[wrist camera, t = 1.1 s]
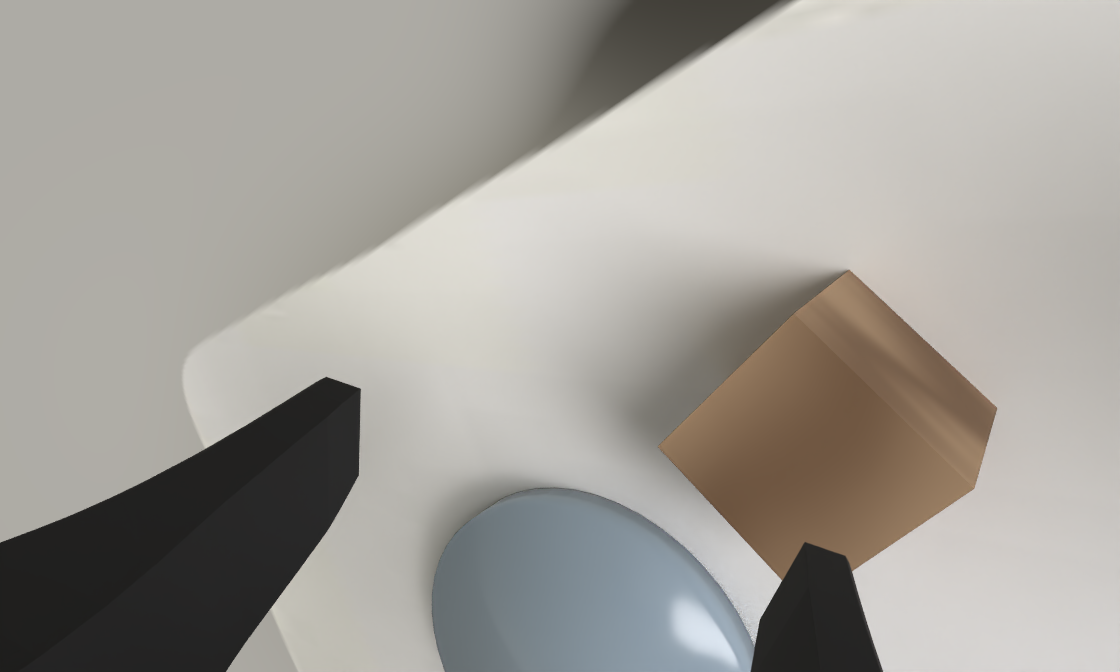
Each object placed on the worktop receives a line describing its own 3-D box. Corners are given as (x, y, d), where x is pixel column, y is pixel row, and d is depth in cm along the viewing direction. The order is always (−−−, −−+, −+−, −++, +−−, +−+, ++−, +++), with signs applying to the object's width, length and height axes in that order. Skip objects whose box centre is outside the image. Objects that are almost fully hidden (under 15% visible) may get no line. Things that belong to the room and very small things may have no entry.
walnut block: (997, 407, 18) (974, 488, 14) (854, 511, 21) (803, 603, 17) (849, 268, 19) (794, 313, 15) (730, 385, 22) (657, 446, 18)
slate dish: (856, 734, 22) (845, 764, 21) (614, 859, 29) (598, 886, 28) (567, 416, 25) (546, 429, 24) (406, 598, 31) (384, 614, 30)
